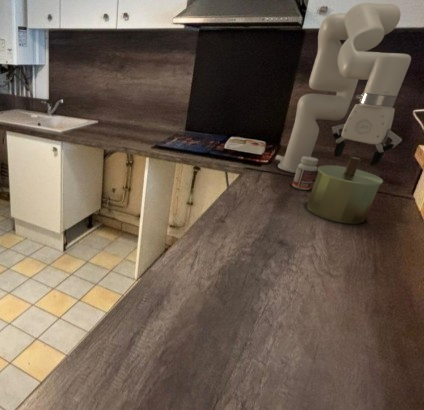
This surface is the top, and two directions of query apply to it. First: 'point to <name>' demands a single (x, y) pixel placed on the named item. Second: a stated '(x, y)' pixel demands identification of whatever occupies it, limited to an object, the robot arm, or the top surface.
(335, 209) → the tin
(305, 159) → the pill bottle
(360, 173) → the tin lid
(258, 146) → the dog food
